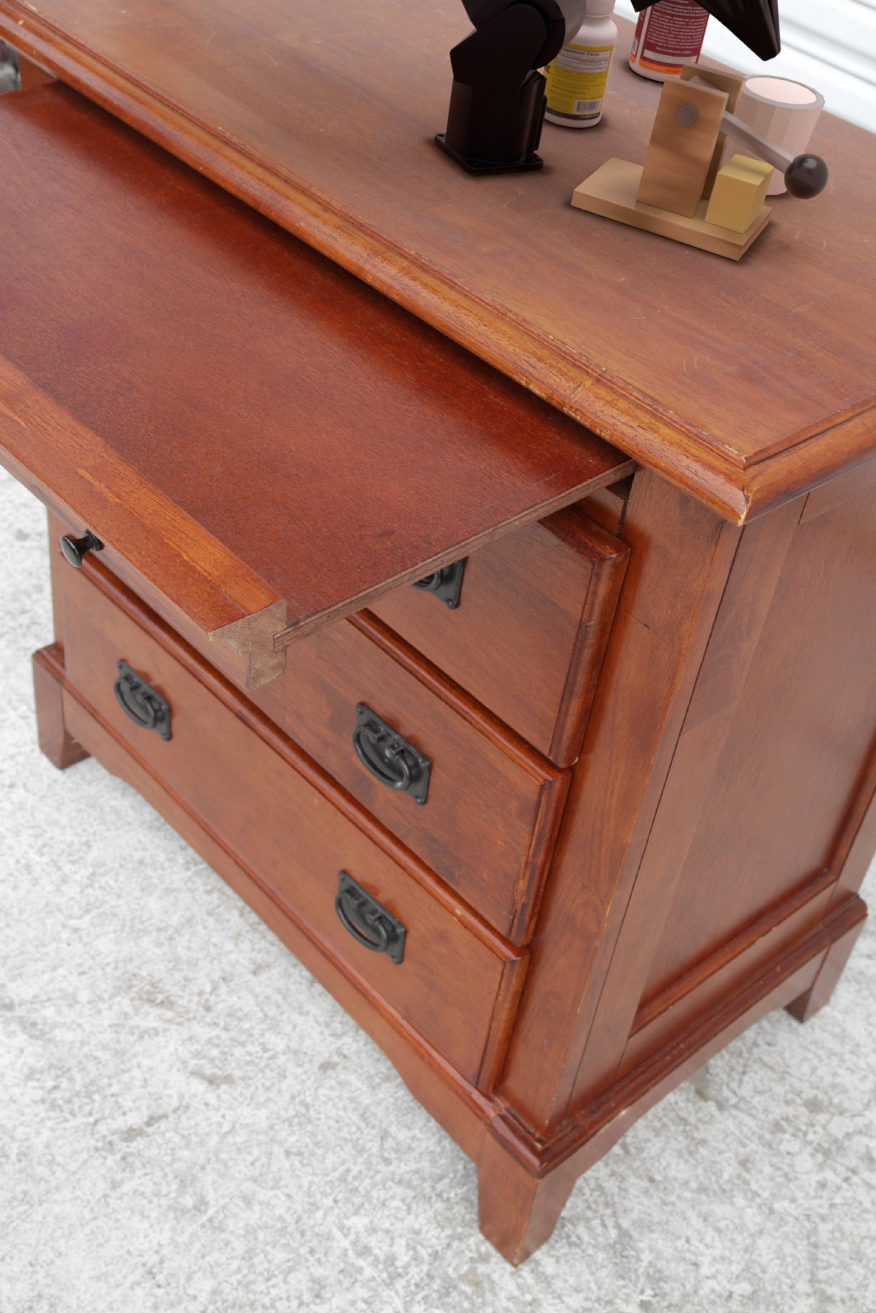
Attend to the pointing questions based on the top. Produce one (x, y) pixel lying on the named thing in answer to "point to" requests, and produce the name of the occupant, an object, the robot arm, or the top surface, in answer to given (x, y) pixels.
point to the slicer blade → (777, 155)
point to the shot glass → (777, 118)
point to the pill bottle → (668, 38)
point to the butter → (739, 193)
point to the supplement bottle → (582, 70)
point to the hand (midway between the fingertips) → (772, 57)
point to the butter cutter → (676, 168)
